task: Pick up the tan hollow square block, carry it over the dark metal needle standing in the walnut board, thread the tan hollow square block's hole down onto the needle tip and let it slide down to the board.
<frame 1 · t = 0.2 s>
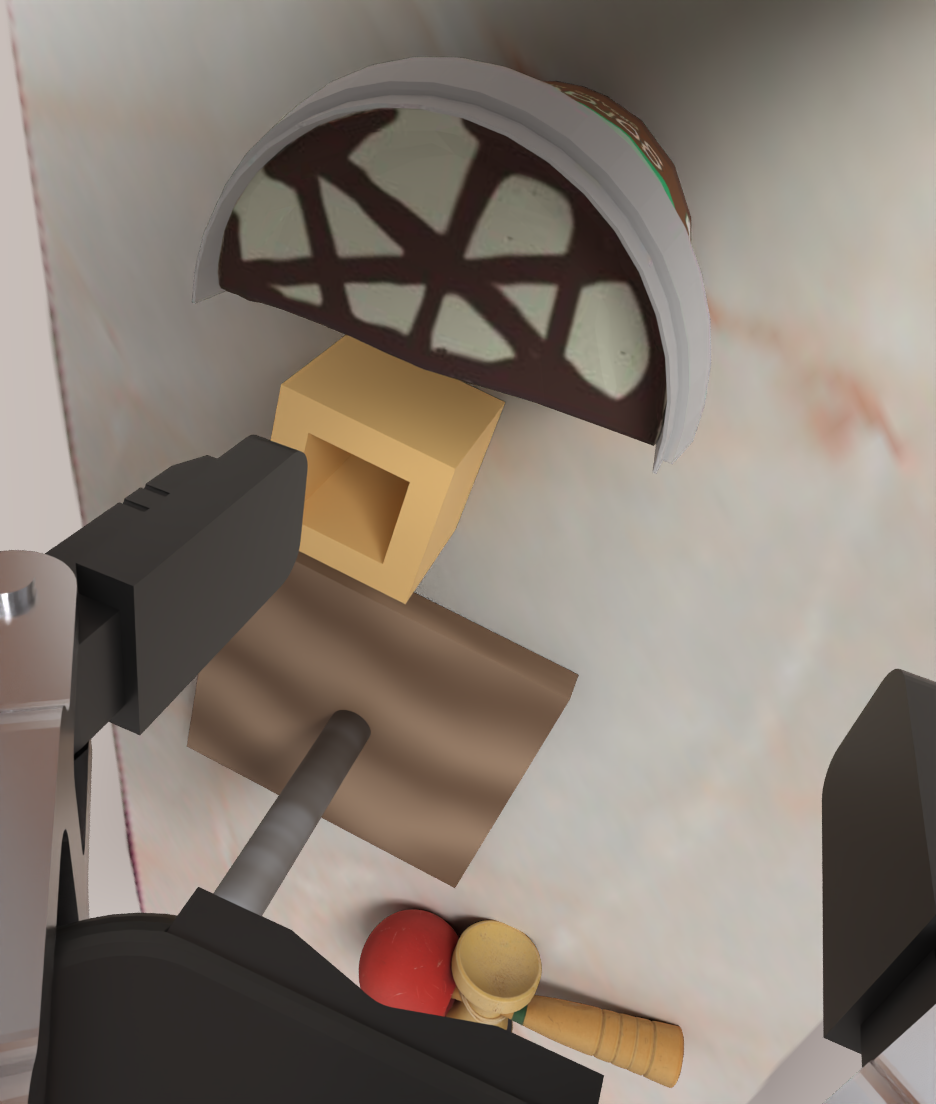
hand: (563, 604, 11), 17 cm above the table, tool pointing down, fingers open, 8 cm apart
needle stand: (364, 704, 41), on the table
food container: (566, 156, 25), on the table
tan hollow square block: (406, 434, 32), on the table
kendama: (531, 959, 49), on the table
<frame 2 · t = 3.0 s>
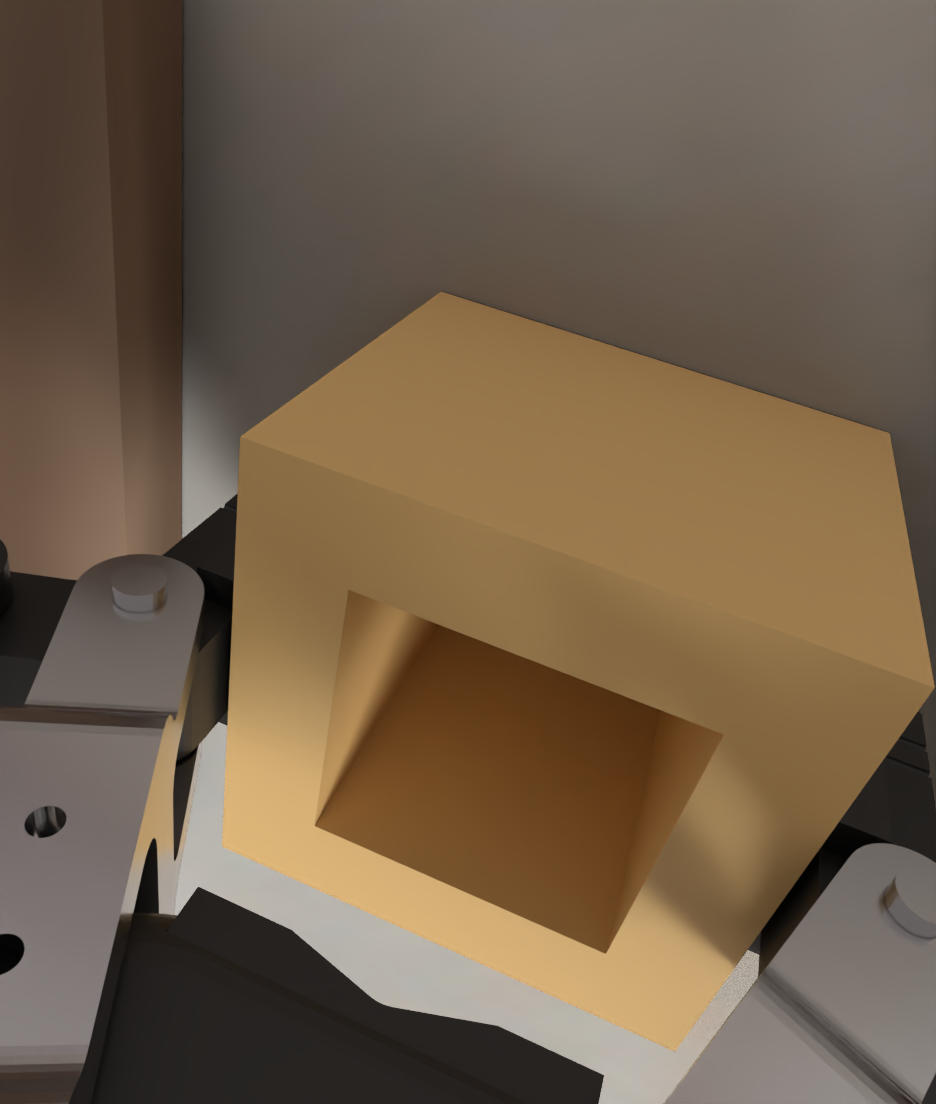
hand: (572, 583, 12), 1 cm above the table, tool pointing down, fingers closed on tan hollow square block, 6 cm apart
tan hollow square block: (591, 545, 13), on the table, touching gripper
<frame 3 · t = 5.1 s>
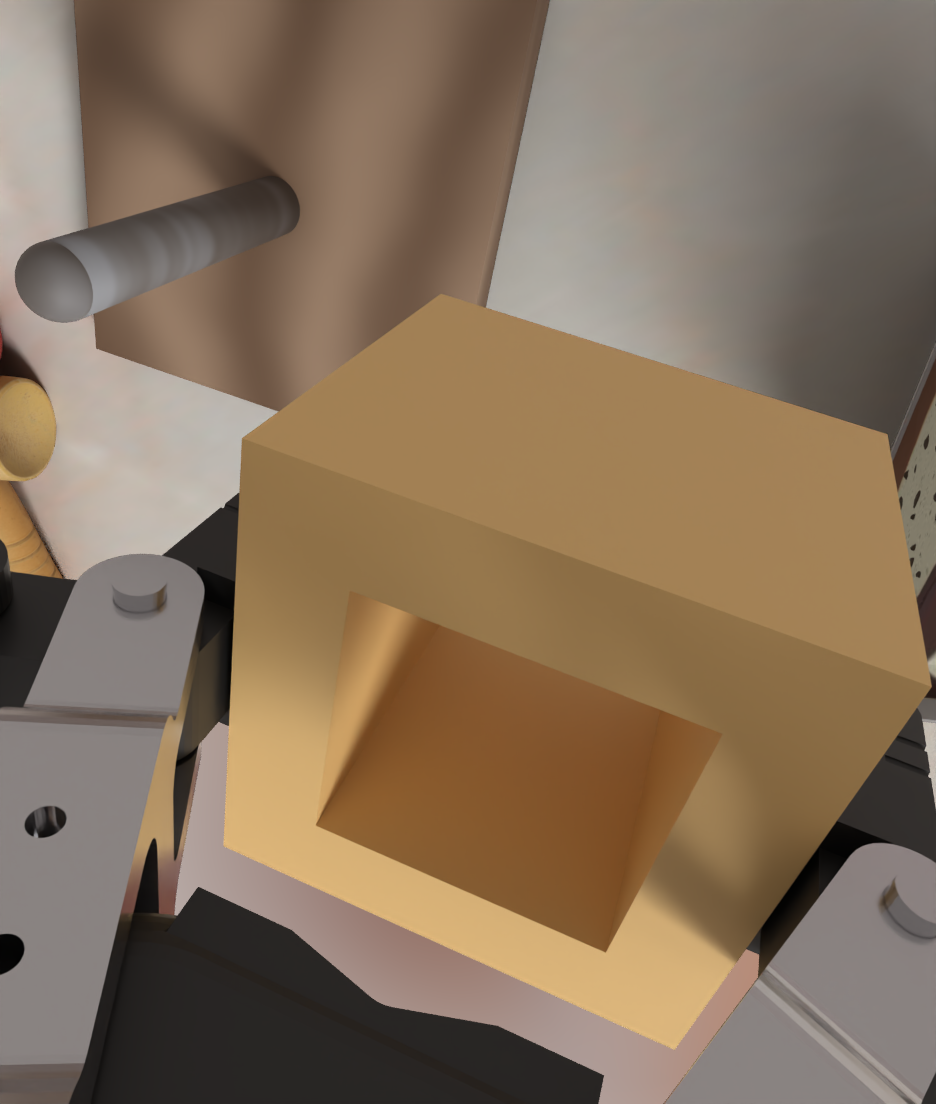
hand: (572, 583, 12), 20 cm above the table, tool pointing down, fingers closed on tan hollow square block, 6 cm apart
needle stand: (295, 199, 32), on the table
tan hollow square block: (591, 546, 13), point 19 cm above the table, touching gripper
kendama: (19, 436, 43), on the table
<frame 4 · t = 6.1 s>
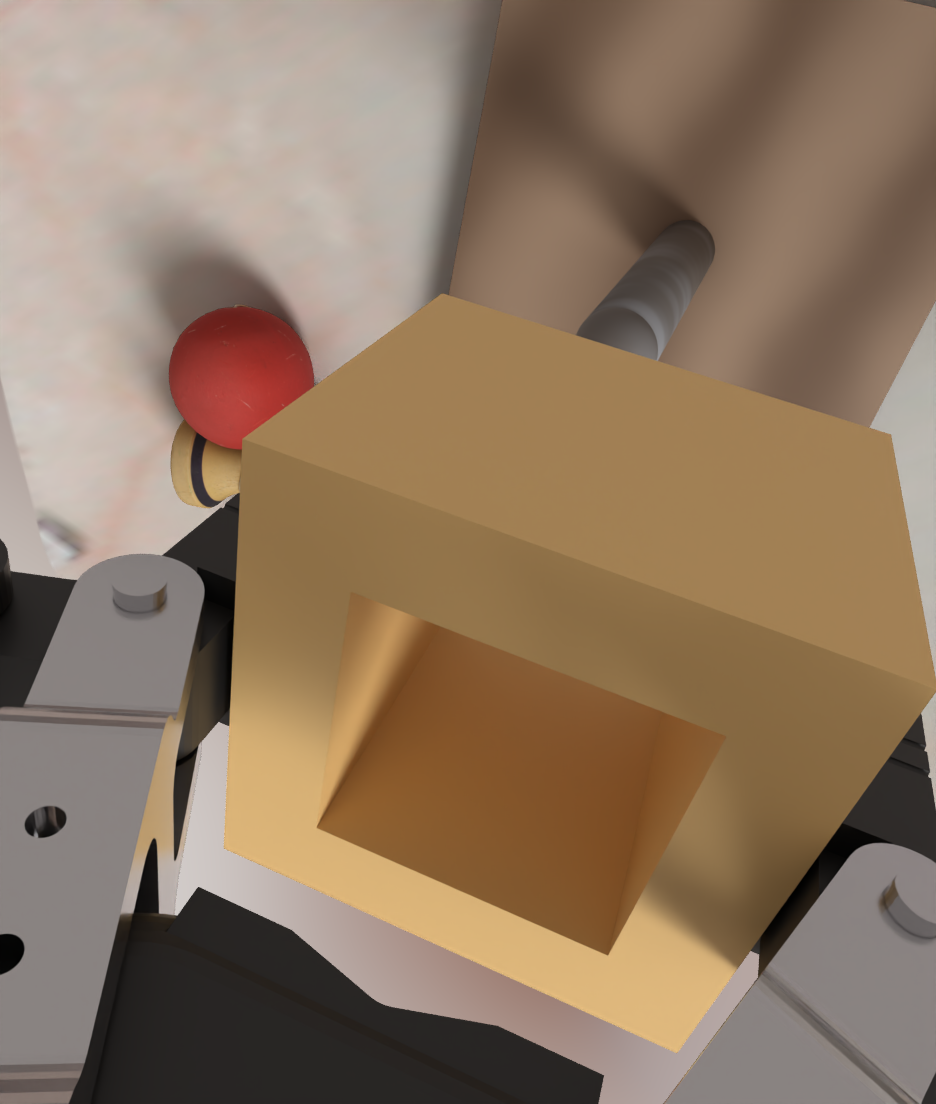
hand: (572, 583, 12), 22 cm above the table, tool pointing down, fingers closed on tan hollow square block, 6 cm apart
needle stand: (690, 242, 30), on the table
tan hollow square block: (592, 547, 13), point 21 cm above the table, touching gripper
kendama: (299, 475, 42), on the table
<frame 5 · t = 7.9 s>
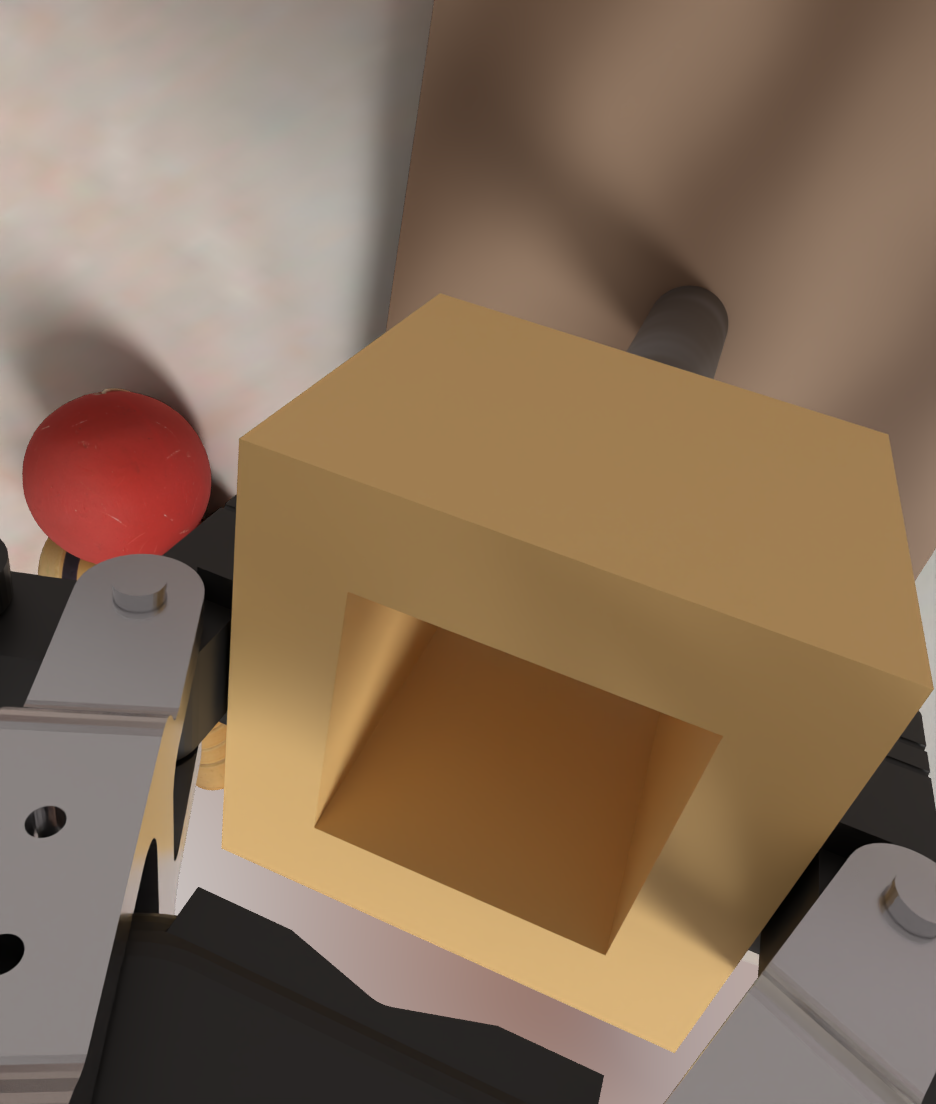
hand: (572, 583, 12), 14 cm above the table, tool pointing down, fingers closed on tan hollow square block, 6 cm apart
needle stand: (694, 309, 23), on the table
tan hollow square block: (590, 546, 13), point 13 cm above the table, touching gripper
kendama: (210, 579, 35), on the table
when the fingers open (13 cm above the table, at t = 9.1 s): tan hollow square block drops 3 cm, point 8 cm above the table.
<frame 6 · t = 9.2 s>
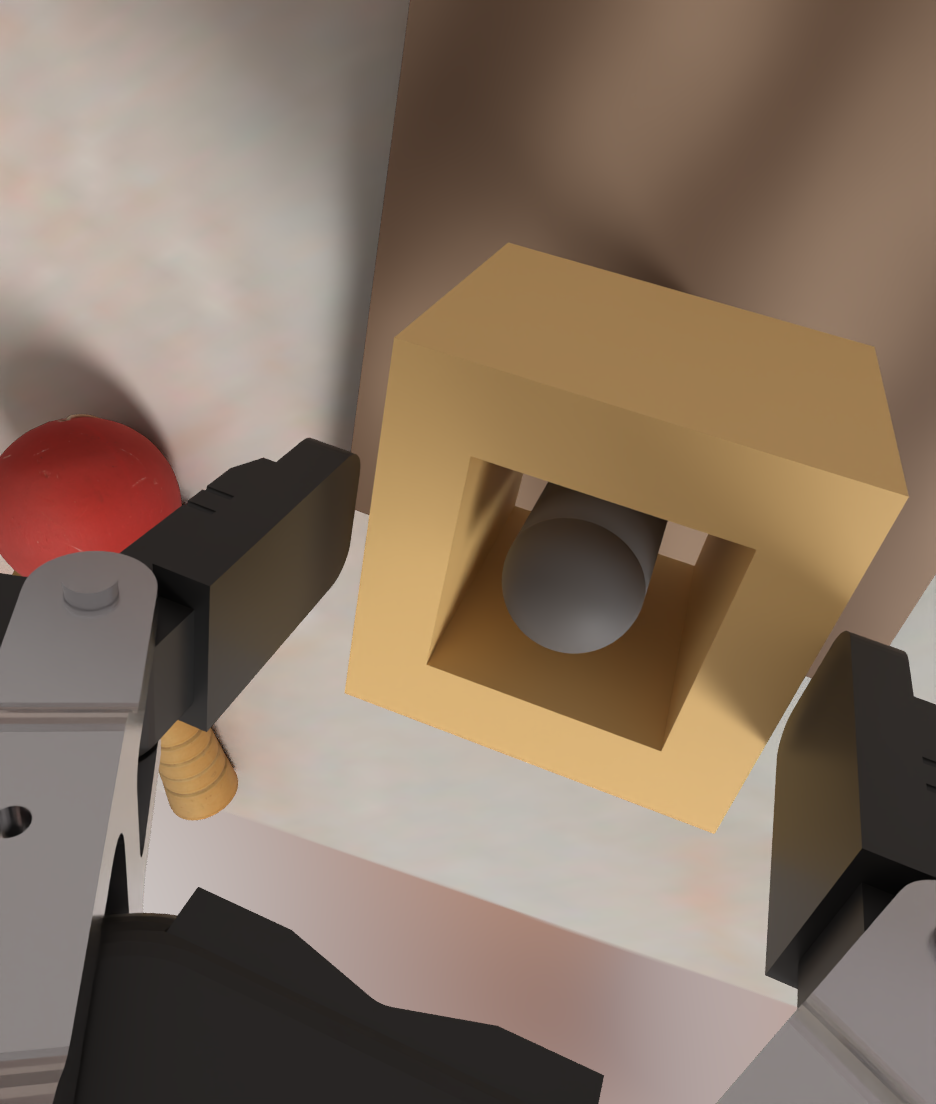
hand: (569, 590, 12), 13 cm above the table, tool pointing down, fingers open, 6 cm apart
needle stand: (684, 324, 22), on the table
tan hollow square block: (630, 454, 15), point 8 cm above the table
kendama: (187, 605, 34), on the table
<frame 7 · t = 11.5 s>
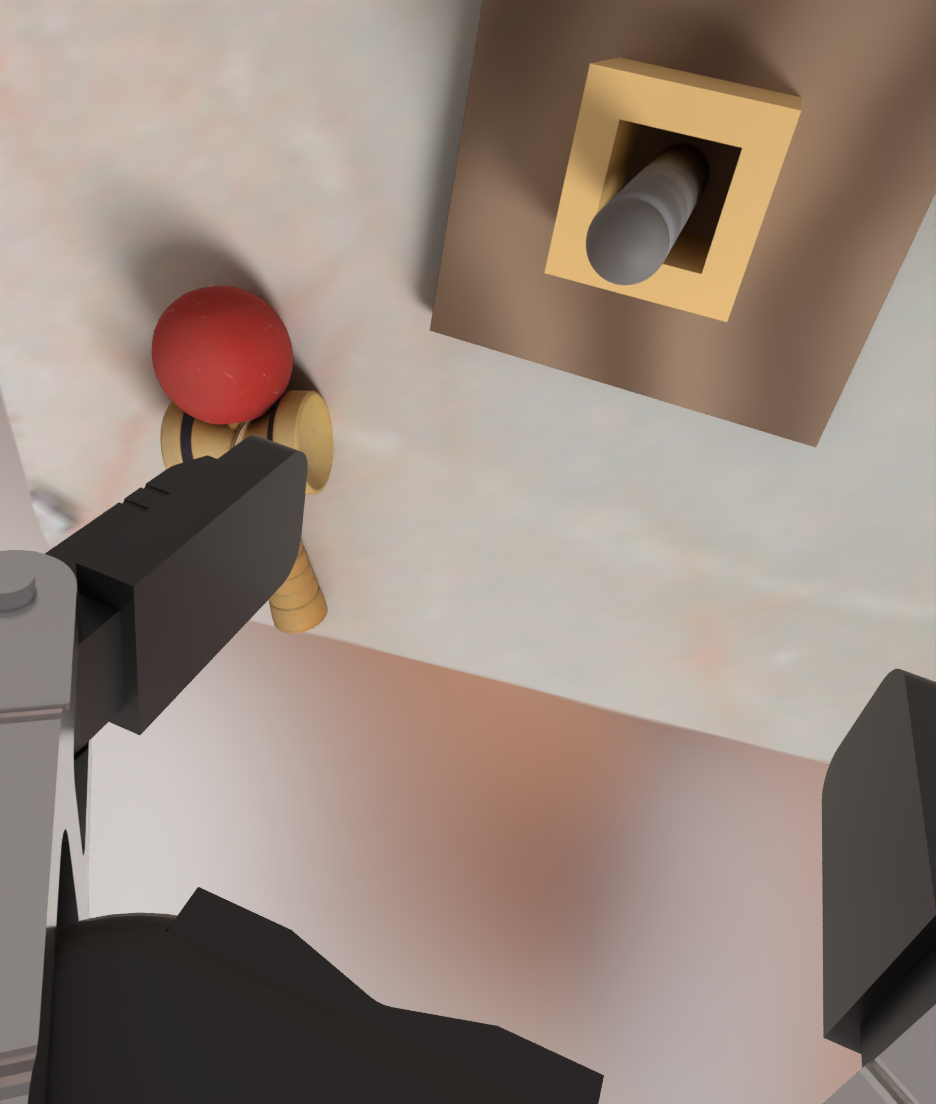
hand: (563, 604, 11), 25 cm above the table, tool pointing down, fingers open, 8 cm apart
needle stand: (684, 169, 31), on the table
tan hollow square block: (680, 174, 30), point 1 cm above the table, touching needle stand
kendama: (287, 453, 43), on the table
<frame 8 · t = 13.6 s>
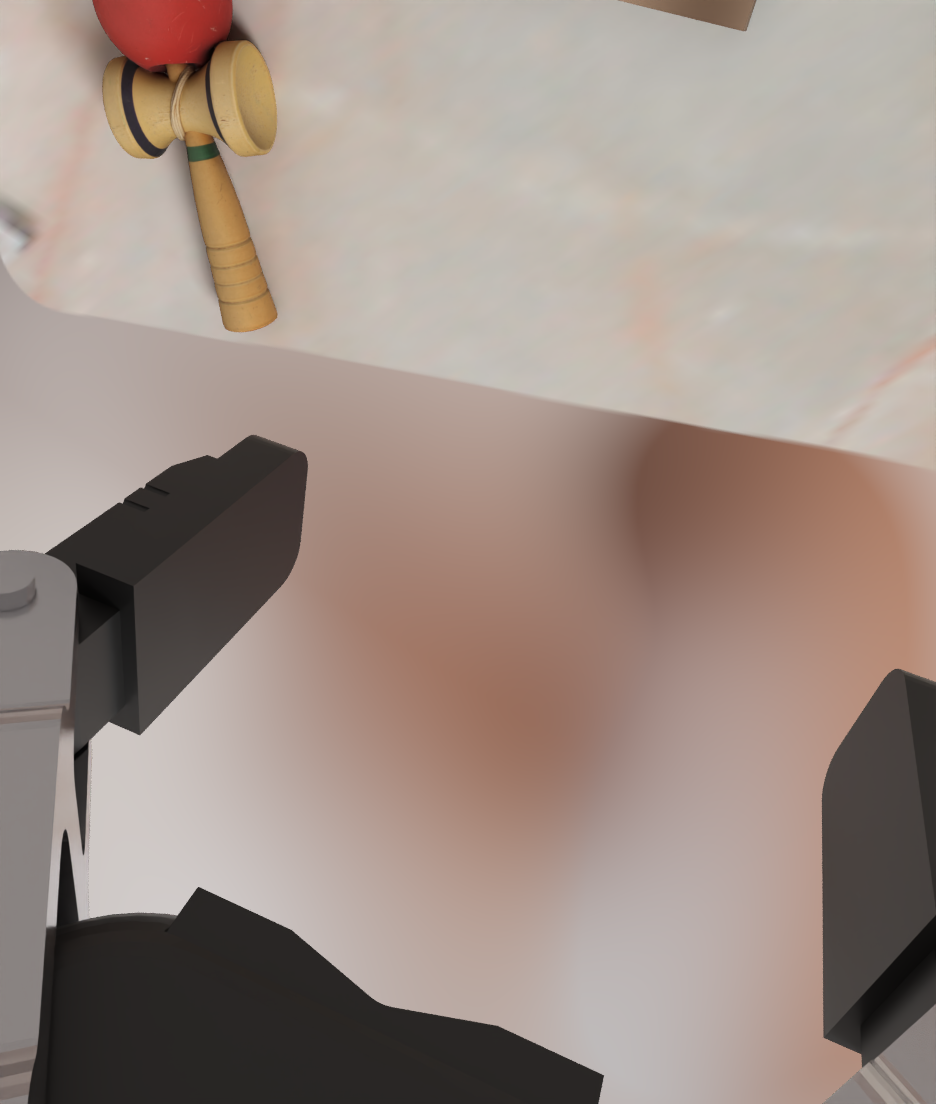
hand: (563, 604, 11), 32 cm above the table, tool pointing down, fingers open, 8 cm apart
kendama: (234, 140, 44), on the table
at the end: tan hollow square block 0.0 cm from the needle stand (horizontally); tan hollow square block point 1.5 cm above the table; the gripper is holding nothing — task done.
